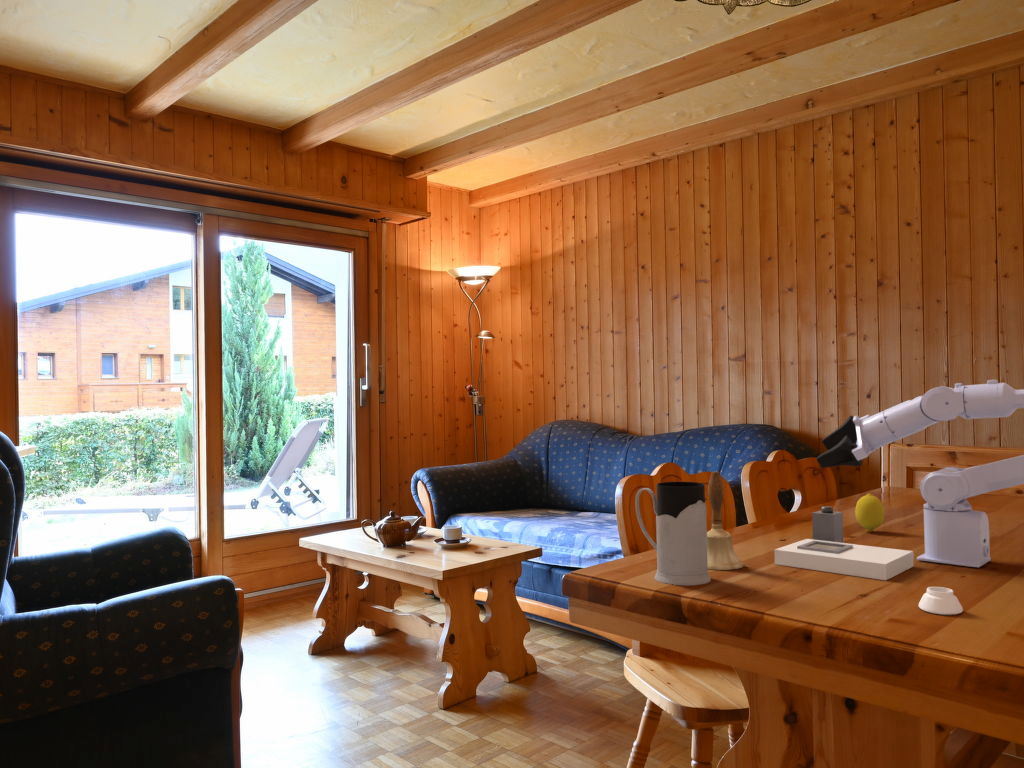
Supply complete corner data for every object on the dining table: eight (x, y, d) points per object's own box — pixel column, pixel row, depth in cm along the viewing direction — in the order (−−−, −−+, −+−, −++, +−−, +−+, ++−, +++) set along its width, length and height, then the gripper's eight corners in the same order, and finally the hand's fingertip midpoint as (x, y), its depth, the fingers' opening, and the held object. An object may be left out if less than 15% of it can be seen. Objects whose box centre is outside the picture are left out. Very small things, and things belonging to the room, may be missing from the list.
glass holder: (685, 588, 115) (682, 488, 116) (619, 572, 127) (617, 481, 127) (722, 579, 121) (720, 484, 121) (655, 564, 132) (654, 477, 132)
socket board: (913, 566, 127) (913, 548, 127) (885, 580, 118) (885, 561, 118) (807, 552, 140) (806, 536, 140) (774, 564, 131) (774, 547, 131)
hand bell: (684, 565, 131) (682, 472, 131) (709, 558, 137) (707, 468, 137) (728, 573, 125) (726, 475, 125) (752, 564, 131) (750, 471, 131)
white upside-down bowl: (970, 613, 100) (934, 604, 105) (969, 591, 100) (933, 583, 105) (947, 619, 98) (910, 610, 102) (946, 596, 98) (910, 588, 102)
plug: (843, 550, 142) (842, 506, 142) (834, 553, 139) (833, 509, 139) (822, 547, 144) (820, 504, 145) (813, 550, 142) (811, 507, 142)
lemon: (857, 533, 158) (856, 494, 158) (854, 529, 163) (853, 491, 163) (887, 534, 156) (886, 495, 156) (882, 530, 161) (881, 492, 161)
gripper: (882, 391, 143) (815, 420, 151) (876, 423, 131) (804, 453, 139) (903, 422, 143) (835, 449, 151) (899, 456, 131) (826, 485, 139)
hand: (822, 453), depth 145 cm, fingers open, 7 cm apart
